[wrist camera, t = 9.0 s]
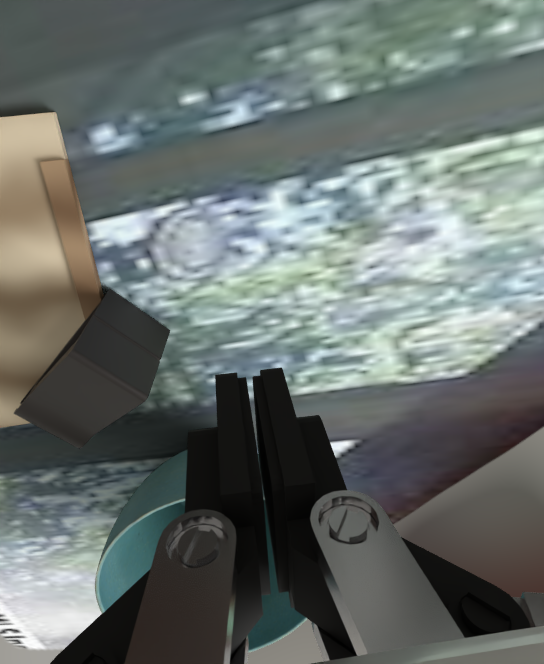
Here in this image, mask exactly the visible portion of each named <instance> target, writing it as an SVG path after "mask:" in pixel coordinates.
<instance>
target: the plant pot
mask: <svg viewBox="0 0 544 664" xmlns="http://www.w3.org/2000/svg"><path fill="white" fill-rule="evenodd" d="M258 460H259V454H258ZM259 467H260V465H259ZM186 470H187V450H185V451H183V452H181V453H179V454H177V455H175V456H174V457H172V458H170V459H169V460H167V461H166V462H164V463H163V464H162V465H160V466H159V467H158V468H157V469H156V470H155V471H153V472H152V473H151V474H150V475H149V476H148V477H147V478H146V479H145V480H144V482H143V483H142V484H141V485H140V486H139V487H138V489H137V490H136V491H135V492H134V494H133V495H132V496H131V498H130V499H129V501H128V502H127V504H126V505H125V507H124V508H123V510H122V512H121V513H120V515H119V517H118V519H117V521H116V523H115V525H114V526H113V528H112V530H111V533H110V535H109V537H108V539H107V542H106V545H105V547H104V550H103V553H102V555H101V559H100V562H99V565H98V569H97V573H96V580H95V592H96V598H97V602H98V605H99V608H100V610H101V612H102V613H104V612H105V611H106V610H107V609H108V608H109V607H110V606H111V605H112V604H113V603H114V602H115V601H116V600H118V599H119V598H120V597H121V596H122V595H123V594H124V593H125V592H126V591H127V590H128V589H129V588H130V587H131V586H133V585H134V584H135V583H136V582H137V581H138V580H139V579H140V578H141V577H142V576H143V575H144V574H145V573H146V572H148V571H149V570H150V569H151V566H152V562H153V558H154V555H155V551H156V547H157V544H158V540H159V538H160V536H161V534H162V532H163V530H164V529H165V528H166V527H167V526H168V524H169V523H170V522H171V521H173V520H174V519H176V518H177V517H179V516H180V515H182V514H185V493H186ZM262 488H263V486H262ZM263 497H264V493H263ZM264 510H265V523H266V536H267V549H268V562H269V575H270V589H271V594H269V595H262V607H263V616H262V617H261V618H260V620H259V621H258V622H257V623H256V625H255V626H254V627H253V629H252V630H251V631H250V632H249V634H248V642H249V648H248V653H249V652H252V651H255V650H258V649H260V648H263V647H265V646H268V645H270V644H272V643H274V642H276V641H278V640H280V639H282V638H283V637H285V636H287V635H288V634H290V633H291V632H293V631H294V630H295V629H296V628H298V627H299V626H300V625H301V624H303V623H304V622H305V621H306V620H307V618H306V617H304V616H303V615H302V614H300V613H299V612H297V611H296V610H295V608H291V605H290V599H289V593H288V592H282V593H279V591H278V585H277V578H276V572H275V565H274V559H273V552H272V545H271V539H270V532H269V526H268V519H267V512H266V506H265V499H264Z"/></svg>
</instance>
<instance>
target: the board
mask: <svg viewBox="0 0 544 664" xmlns="http://www.w3.org/2000/svg"><path fill="white" fill-rule="evenodd" d="M103 296H104V295H103V291H102V287H101V283H100V279H99V275H98V272H97V268H96V264H95V260H94V256H93V253H92V249H91V245H90V241H89V237H88V233H87V230H86V226H85V222H84V218H83V214H82V210H81V207H80V203H79V199H78V195H77V191H76V187H75V184H74V180H73V176H72V172H71V168H70V164H69V161H68V157H67V153H66V149H65V145H64V142H63V138H62V134H61V130H60V126H59V122H58V119H57V115H56V112H50V113H40V114H30V115H20V116H10V117H0V428H2V427H8V426H15V425H22V424H28V423H30V422H28V421H26V420H25V419H23V418H21V417H19V416H17V415H15V414H13V413H14V411H15V410H16V409H18V408H19V407H20V405H21V404H20V402H21V401H22V400H23V398H24V397H25V396H26V394H27V393H28V392H29V390H30V389H31V388H32V386H33V385H34V384H35V383H36V382H37V381H38V379H39V378H40V377H41V376H42V374H43V373H44V372H45V371H46V369H47V368H48V367H49V365H50V364H51V363H52V362H53V360H54V359H55V358H56V356H57V355H58V354H59V353H60V351H61V350H62V349H63V347H64V346H65V345H66V344H67V342H68V341H69V340H70V339H71V337H72V336H73V335H74V334H75V332H76V331H77V330H78V328H79V327H80V326H81V325H82V323H83V322H84V321H85V320H86V319H87V318H88V316H89V315H90V314H91V313H92V311H93V310H94V309H95V308H96V306H97V305H98V304H99V303H100V301H101V300H102V298H103Z"/></svg>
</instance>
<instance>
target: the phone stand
mask: <svg viewBox="0 0 544 664" xmlns="http://www.w3.org/2000/svg"><path fill="white" fill-rule="evenodd" d="M169 333H170V330H169V329H167V328H166V327H164V326H163V325H161V324H160V323H159V322H157V321H156V320H154V319H153V318H151V317H150V316H149V315H147V314H146V313H144V312H143V311H141V310H140V309H138V308H137V307H136V306H134V305H133V304H131V303H130V302H128V301H127V300H126V299H124V298H123V297H121V296H120V295H118V294H117V293H115V292H114V291H113V290H111V289H109V290H108V291H107V292H106V293H105V295H104V296H103V298H102V300H101V301H100V303H99V304H98V305H97V306H96V308H95V309H94V310H93V311H92V313H91V314H90V315H89V316H88V318H87V319H86V320H85V321H84V322H83V323H82V325H81V326H80V327H79V328H78V330H77V331H76V332H75V334H74V335H73V336H72V337H71V339H70V340H69V341H68V342H67V344H66V345H65V346H64V347H63V349H62V350H61V351H60V353H59V354H58V355H57V356H56V358H55V359H54V360H53V362H52V363H51V364H50V365H49V367H48V368H47V369H46V371H45V372H44V373H43V374H42V376H41V377H40V378H39V379H38V381H37V382H36V383H35V384H34V385H33V386H32V388H31V389H30V390H29V392H28V393H27V394H26V396H25V397H24V398H23V400H22V401H21V402H20V404H21V405H20V407H19V408H18V409H16V410H15V411H14V413H13V414H15V415H17V416H19V417H21V418H23V419H25V420H26V421H28V422H30V423H32V424H34V425H36V426H38V427H39V428H41V429H43V430H45V431H47V432H49V433H51V434H53V435H54V436H56V437H58V438H60V439H62V440H64V441H66V442H67V443H69V444H71V445H73V446H75V447H77V448H79V449H80V448H82V447H83V446H84V445H85V444H86V443H87V441H88V440H89V439H90V438H91V437H92V436H93V435H95V434H96V433H98V432H99V431H101V430H102V429H104V428H105V427H107V426H108V425H110V424H111V423H113V422H114V421H116V420H117V419H119V418H120V417H122V416H123V415H125V414H127V413H128V412H130V411H131V410H133V409H134V408H136V407H137V406H139V405H140V404H142V403H143V402H145V400H146V399H147V398H148V396H149V393H150V390H151V387H152V384H153V381H154V378H155V375H156V372H157V369H158V366H159V363H160V361H159V360H160V359H161V357H162V354H163V351H164V348H165V345H166V342H167V339H168V336H169Z"/></svg>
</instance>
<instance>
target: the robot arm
mask: <svg viewBox="0 0 544 664" xmlns="http://www.w3.org/2000/svg"><path fill="white" fill-rule="evenodd" d="M215 379H216V402H217V425H218V427H215V428H206V429H198V430H189V432H188V447H187V470H186V493H185V514H182V515H180V516H179V517H177V518H176V519H174V520H173V521H171V522H170V523H169V524H168V526H167V527H166V528H165V529H164V530H163V532H162V534H161V536H160V538H159V540H158V544H157V547H156V551H155V555H154V558H153V562H152V566H151V569H150V570H149V571H148V572H146V573H145V574H144V575H143V576H142V577H141V578H140V579H139V580H138V581H137V582H136V583H135V584H134V585H133V586H131V587H130V588H129V589H128V590H127V591H126V592H125V593H124V594H123V595H122V596H121V597H120V598H119V599H118V600H116V601H115V602H114V603H113V604H112V605H111V606H110V607H109V608H108V609H107V610H106V611H105V612H104V613H102V614H101V615H100V616H99V617H98V618H97V619H96V620H95V621H94V622H93V623H92V624H91V625H90V626H89V627H87V628H86V629H85V630H84V631H83V632H82V633H81V634H80V635H79V636H78V637H77V638H76V639H75V640H73V641H72V642H71V643H70V644H69V645H68V646H67V647H66V648H65V649H64V650H63V651H62V652H61V653H60V654H58V655H57V656H56V658H55V659H54V660H53V661H52V662H51V663H50V664H248V648H249V642H248V634H249V632H250V631H251V630H252V629H253V627H254V626H255V625H256V623H257V622H258V621H259V620H260V618H261V617H262V616H263V607H262V595H269V594H271V589H270V575H269V562H268V549H267V536H266V523H265V510H264V499H265V506H266V512H267V519H268V526H269V532H270V539H271V545H272V552H273V559H274V565H275V572H276V578H277V585H278V591H279V593H282V592H288V593H289V599H290V605H291V608H295V610H296V611H297V612H299V613H300V614H302V615H303V616H304V617H306V618H307V619H309V620H310V621H312V627H313V632H314V636H315V638H316V641H317V644H318V647H319V650H320V652H321V655H322V658H323V661H324V662H318V663H312V664H544V593H543V594H542V593H530V592H523V593H522V596H521V598H515V597H511V596H510V595H509V594H507V593H506V592H504V591H503V590H501V589H500V588H498V587H497V586H495V585H493V584H491V583H489V582H487V581H485V580H483V579H481V578H479V577H477V576H475V575H474V574H472V573H470V572H468V571H466V570H464V569H462V568H460V567H458V566H456V565H454V564H452V563H450V562H448V561H446V560H444V559H442V558H440V557H438V556H437V555H435V554H433V553H430V552H429V551H427V550H425V549H423V548H421V547H419V546H417V545H415V544H413V543H411V542H409V541H407V540H405V539H404V538H402V537H400V535H399V534H398V532H397V530H396V529H395V527H394V526H393V524H392V523H391V521H390V520H389V518H388V516H387V515H386V513H385V512H384V510H383V509H382V508H381V506H380V505H379V504H378V503H377V502H376V501H375V500H373V499H372V498H370V497H369V496H367V495H365V494H362V493H359V492H356V491H348V490H347V488H346V486H345V483H344V480H343V477H342V475H341V472H340V469H339V466H338V464H337V461H336V458H335V455H334V453H333V450H332V447H331V444H330V442H329V439H328V436H327V433H326V431H325V428H324V425H323V422H322V420H321V418H320V416H319V415H315V416H307V417H298V418H296V414H295V411H294V407H293V404H292V400H291V397H290V393H289V390H288V387H287V383H286V380H285V376H284V373H283V369H282V368H274V369H265V370H260V376H253V390H254V403H255V415H256V428H257V441H258V453H257V447H256V440H255V434H254V427H253V420H252V414H251V407H250V401H249V394H248V388H247V381H246V377H244V378H237V373H228V374H219V375H215ZM258 454H259V460H258ZM259 465H260V467H259ZM262 486H263V488H262ZM263 493H264V497H263Z"/></svg>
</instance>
